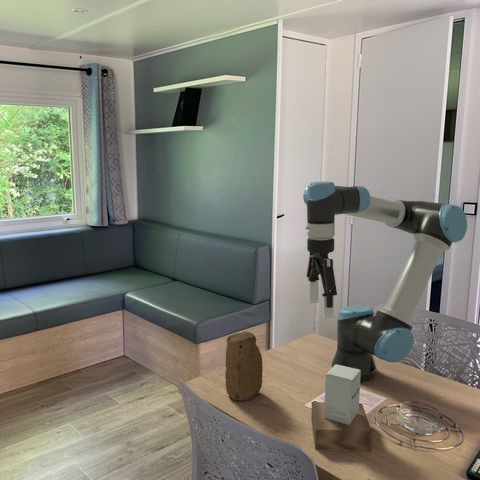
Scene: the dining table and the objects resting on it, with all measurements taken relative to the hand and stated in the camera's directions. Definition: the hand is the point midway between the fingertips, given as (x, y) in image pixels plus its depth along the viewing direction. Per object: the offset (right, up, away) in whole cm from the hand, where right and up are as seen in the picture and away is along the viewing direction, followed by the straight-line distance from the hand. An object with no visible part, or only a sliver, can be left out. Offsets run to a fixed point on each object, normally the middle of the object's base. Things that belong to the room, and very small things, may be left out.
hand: (320, 310), depth 140 cm
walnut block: (+3, -33, -9) cm, 34 cm away
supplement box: (+4, -27, -10) cm, 29 cm away
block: (-22, -29, +13) cm, 38 cm away
